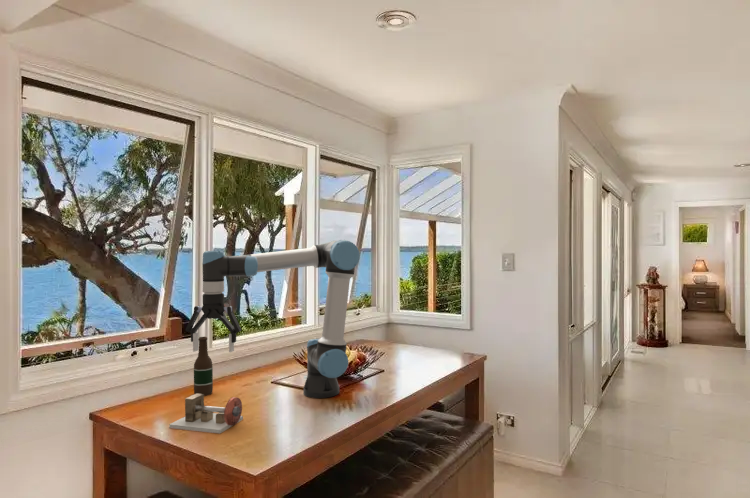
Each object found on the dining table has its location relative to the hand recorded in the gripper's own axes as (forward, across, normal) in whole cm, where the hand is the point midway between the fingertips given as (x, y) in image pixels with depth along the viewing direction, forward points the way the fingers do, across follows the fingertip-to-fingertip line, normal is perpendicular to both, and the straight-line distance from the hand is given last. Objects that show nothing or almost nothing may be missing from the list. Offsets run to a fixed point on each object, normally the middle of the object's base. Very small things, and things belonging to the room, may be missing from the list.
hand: (213, 351), depth 178 cm
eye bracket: (+23, -1, +7) cm, 24 cm away
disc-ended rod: (+23, -3, +7) cm, 25 cm away
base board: (+24, -1, +7) cm, 25 cm away
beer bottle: (+24, +17, -28) cm, 41 cm away
